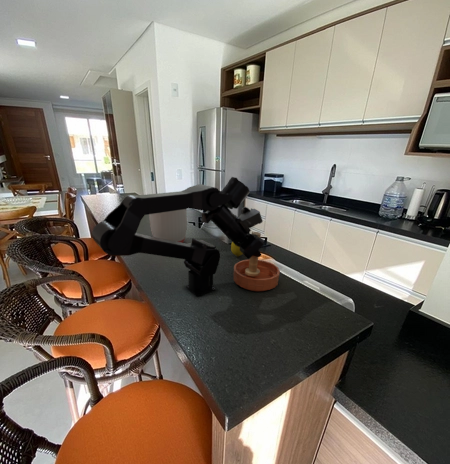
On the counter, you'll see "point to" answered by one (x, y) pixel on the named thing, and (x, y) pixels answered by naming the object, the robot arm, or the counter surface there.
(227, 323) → the counter surface
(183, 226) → the citrus juicer
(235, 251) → the lemon
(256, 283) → the bowl
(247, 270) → the wooden pestle
